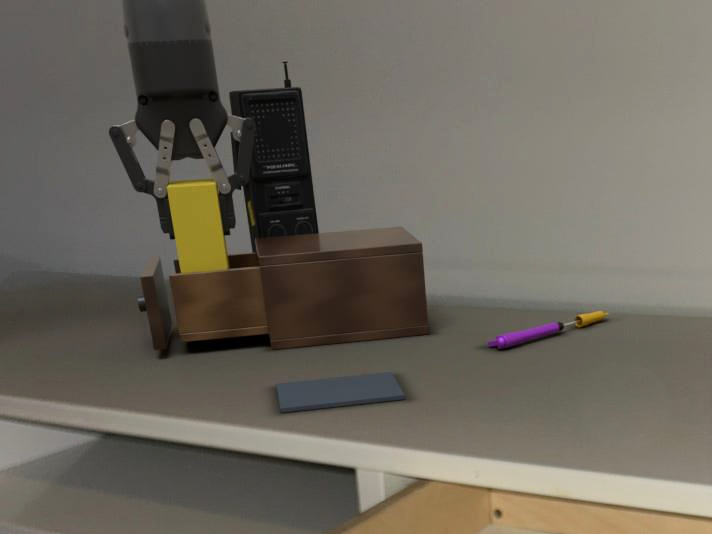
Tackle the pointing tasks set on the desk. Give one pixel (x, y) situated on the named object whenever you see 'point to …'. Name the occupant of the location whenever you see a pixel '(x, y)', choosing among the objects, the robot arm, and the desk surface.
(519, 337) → the purple soldering iron
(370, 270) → the cabinet
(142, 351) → the desk surface
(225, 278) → the drawer
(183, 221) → the block
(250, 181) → the portable radio
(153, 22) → the robot arm
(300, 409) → the mat
